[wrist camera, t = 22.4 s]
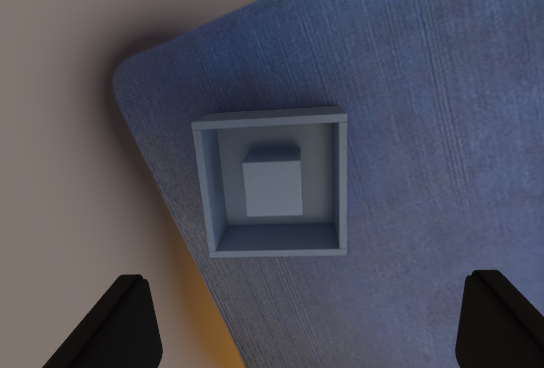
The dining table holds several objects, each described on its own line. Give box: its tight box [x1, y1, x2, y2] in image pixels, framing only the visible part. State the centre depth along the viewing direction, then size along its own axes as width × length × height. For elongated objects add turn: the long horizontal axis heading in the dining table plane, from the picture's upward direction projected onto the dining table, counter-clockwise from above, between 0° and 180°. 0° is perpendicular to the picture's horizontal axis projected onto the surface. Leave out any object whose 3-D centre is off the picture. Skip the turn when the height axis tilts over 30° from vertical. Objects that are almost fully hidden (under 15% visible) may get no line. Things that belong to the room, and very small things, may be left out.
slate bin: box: [191, 106, 347, 258], centre depth 29 cm, size 11×11×6 cm
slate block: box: [242, 148, 303, 217], centre depth 29 cm, size 4×4×4 cm
